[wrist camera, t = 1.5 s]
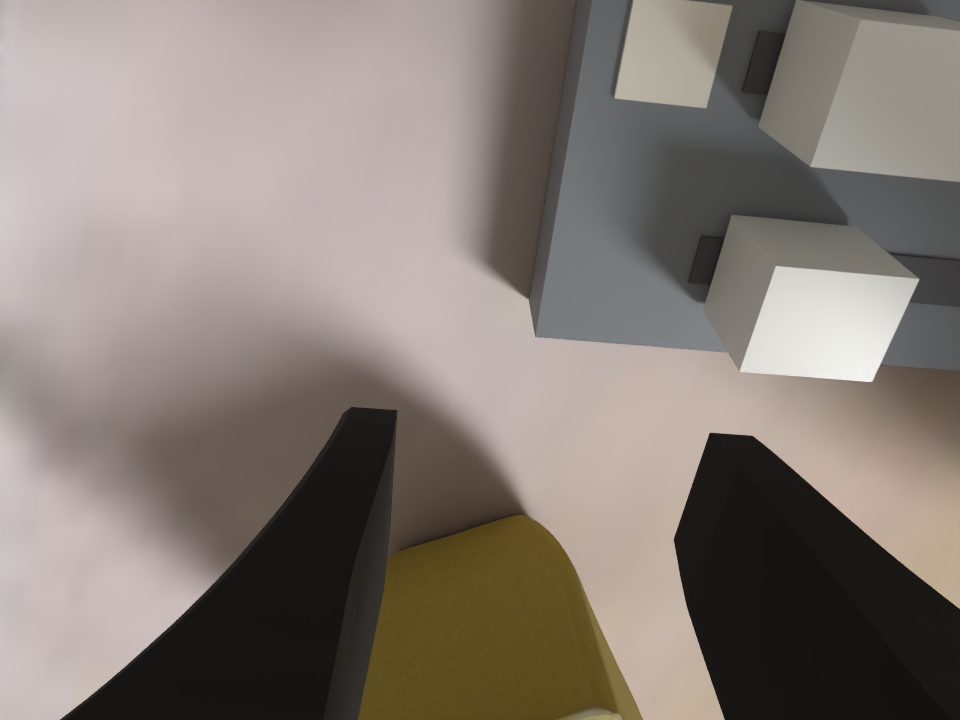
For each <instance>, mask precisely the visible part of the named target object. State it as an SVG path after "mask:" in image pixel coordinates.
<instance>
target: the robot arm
mask: <svg viewBox="0 0 960 720" xmlns="http://www.w3.org/2000/svg"><path fill="white" fill-rule="evenodd" d="M396 421H397V410H385V409H371V408H357V407H351V408H350V409H348V410H347V411H346V412H344V413H343V414H342V416H341V418H340V421H339V423H338V424H337V426H336V428H335V430H334V431H333V433H332V435H331V436H330V438H329V440H328V441H327V443H326V445H325V446H324V448H323V449H322V451H321V452H320V454H319V455H318V457H317V458H316V460H315V461H314V463H313V464H312V466H311V467H310V468H309V470H308V471H307V473H306V474H305V475H304V477H303V478H302V479H301V481H300V482H299V483H298V485H297V486H296V487H295V489H294V490H293V491H292V493H291V494H290V495H289V497H288V498H287V499H286V501H285V502H284V503H283V505H282V506H281V507H280V509H279V510H278V511H277V512H276V514H275V515H274V516H273V517H272V518H271V520H270V521H269V522H268V523H267V524H266V525H265V527H264V528H263V529H262V530H261V531H260V532H259V534H258V535H257V536H256V537H255V538H254V539H253V541H252V542H251V543H250V544H249V545H248V546H247V548H246V549H245V550H244V551H243V552H242V553H241V555H240V556H239V557H238V558H237V559H236V560H235V561H234V562H233V564H232V565H231V566H230V567H229V568H228V569H227V570H226V571H225V572H224V573H223V574H222V575H221V576H220V577H219V579H218V580H217V581H216V582H215V583H214V584H213V585H212V586H211V587H210V588H209V589H208V590H207V591H206V592H205V593H204V594H203V595H202V596H201V597H200V598H199V599H198V600H197V601H196V602H195V603H194V604H193V605H192V606H191V607H190V608H189V609H188V610H187V611H186V612H185V613H184V614H183V615H182V616H181V617H180V618H179V619H178V620H176V621H175V622H174V623H173V624H172V625H171V626H170V627H169V628H168V629H167V630H166V631H165V632H163V633H162V634H161V635H160V636H159V637H158V638H157V639H156V640H155V641H153V642H152V643H151V644H150V645H149V646H148V647H147V648H146V649H145V650H143V651H142V652H141V653H140V654H139V655H138V656H137V657H136V658H135V659H133V660H132V661H131V662H130V663H129V664H128V665H127V666H126V667H125V668H123V669H122V670H121V671H120V672H119V673H117V674H116V675H115V676H114V677H113V678H112V679H110V680H109V681H108V682H107V683H106V684H104V685H103V686H102V687H101V688H100V689H98V690H97V691H96V692H95V693H94V694H92V695H91V696H90V697H89V698H88V699H86V700H85V701H84V702H82V703H81V704H80V705H79V706H77V707H76V708H75V709H73V710H72V711H71V712H69V713H68V714H67V715H66V716H64V717H63V718H62V719H60V720H358V716H359V711H360V706H361V701H362V696H363V691H364V686H365V682H366V677H367V672H368V667H369V662H370V657H371V652H372V647H373V642H374V637H375V632H376V627H377V622H378V617H379V612H380V607H381V602H382V597H383V592H384V583H385V573H386V563H387V553H388V542H389V532H390V521H391V504H392V487H393V471H394V454H395V438H396ZM674 543H675V549H676V554H677V560H678V565H679V571H680V576H681V581H682V586H683V591H684V595H685V600H686V605H687V608H688V611H689V615H690V618H691V621H692V624H693V627H694V630H695V633H696V636H697V639H698V642H699V645H700V648H701V651H702V654H703V657H704V660H705V663H706V666H707V669H708V672H709V675H710V678H711V681H712V683H713V686H714V689H715V692H716V695H717V698H718V701H719V704H720V707H721V710H722V713H723V716H724V719H725V720H960V609H959V608H958V607H956V606H955V605H954V604H952V603H951V602H950V601H949V600H947V599H946V598H945V597H943V596H942V595H941V594H940V593H938V592H937V591H936V590H935V589H933V588H932V587H931V586H929V585H928V584H927V583H926V582H924V581H923V580H922V579H921V578H919V577H918V576H917V575H915V574H914V573H913V572H912V571H910V570H909V569H908V568H907V567H905V566H904V565H903V564H902V563H901V562H899V561H898V560H897V559H896V558H894V557H893V556H892V555H891V554H890V553H888V552H887V551H886V550H885V549H884V548H882V547H881V546H880V545H879V544H878V543H876V542H875V541H874V540H873V539H872V538H871V537H869V536H868V535H867V534H866V533H865V532H864V531H862V530H861V529H860V528H859V527H858V526H857V525H855V524H854V523H853V522H852V521H851V520H850V519H848V518H847V517H846V516H845V515H844V514H843V513H842V512H840V511H839V510H838V509H837V508H836V507H835V506H834V505H832V504H831V503H830V502H829V501H828V500H827V499H826V498H825V497H823V496H822V495H821V494H820V493H819V492H818V491H817V490H815V489H814V488H813V487H812V486H811V485H810V484H809V483H808V482H806V481H805V480H804V479H803V478H802V477H801V476H800V475H799V474H797V473H796V472H795V471H794V470H793V469H792V468H791V467H789V466H788V465H787V464H786V463H785V462H784V461H783V460H781V459H780V458H779V457H778V456H777V455H776V454H774V453H773V452H772V451H771V450H770V449H768V448H767V447H766V446H765V445H763V444H762V443H761V442H760V441H758V440H757V439H756V438H755V437H753V436H747V435H733V434H719V433H710V434H709V437H708V440H707V443H706V446H705V449H704V452H703V455H702V458H701V460H700V463H699V466H698V469H697V472H696V475H695V478H694V481H693V484H692V487H691V490H690V493H689V496H688V499H687V502H686V505H685V508H684V511H683V514H682V517H681V520H680V523H679V526H678V529H677V531H676V534H675V537H674Z"/></svg>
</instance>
